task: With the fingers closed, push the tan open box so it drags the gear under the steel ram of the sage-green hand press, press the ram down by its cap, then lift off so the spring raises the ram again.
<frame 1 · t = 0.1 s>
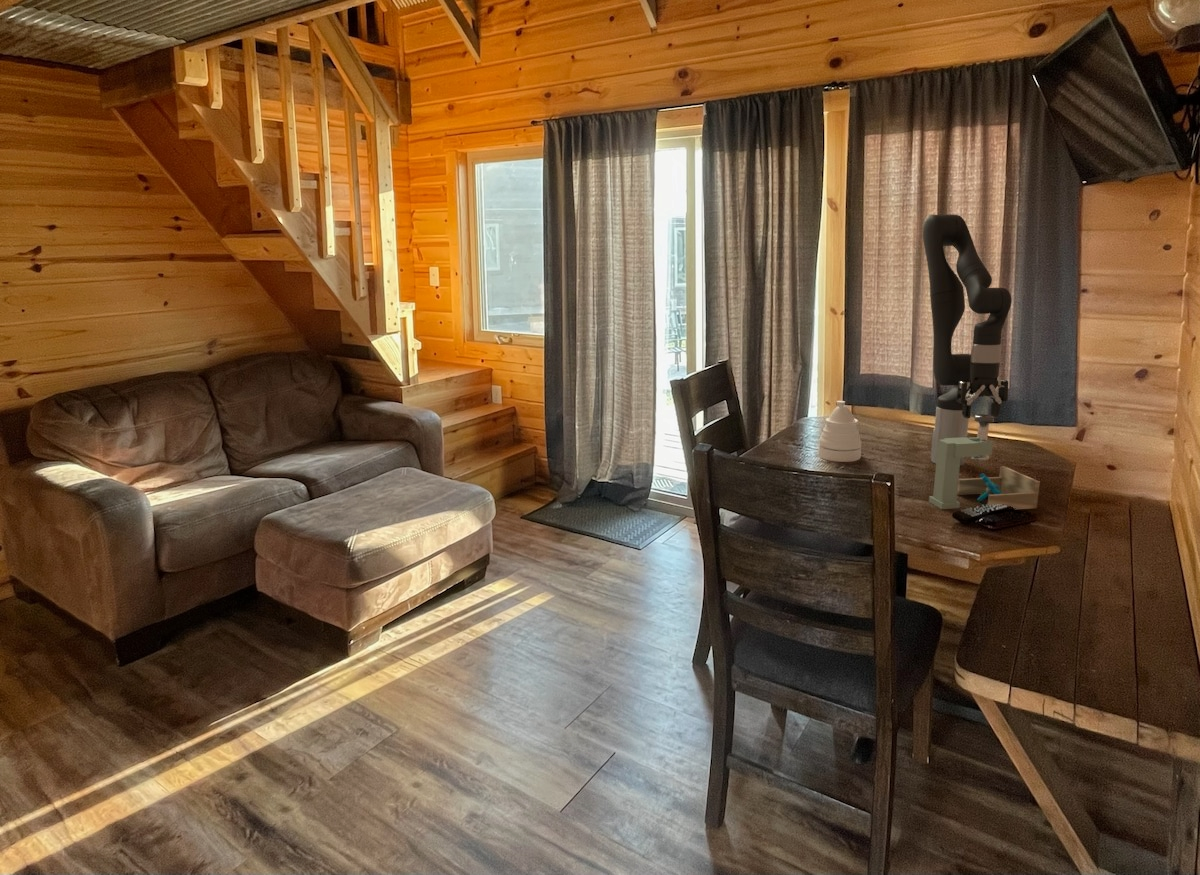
hand: (980, 417, 228), 17 cm above the table, tool pointing down, fingers open, 8 cm apart
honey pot: (839, 456, 254), on the table
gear: (992, 502, 209), on the table
ram: (982, 437, 204), point 18 cm above the table, slide at 0.1 cm
hand press: (975, 502, 208), on the table
tan open box: (996, 487, 208), point 4 cm above the table, slide at 0.0 cm
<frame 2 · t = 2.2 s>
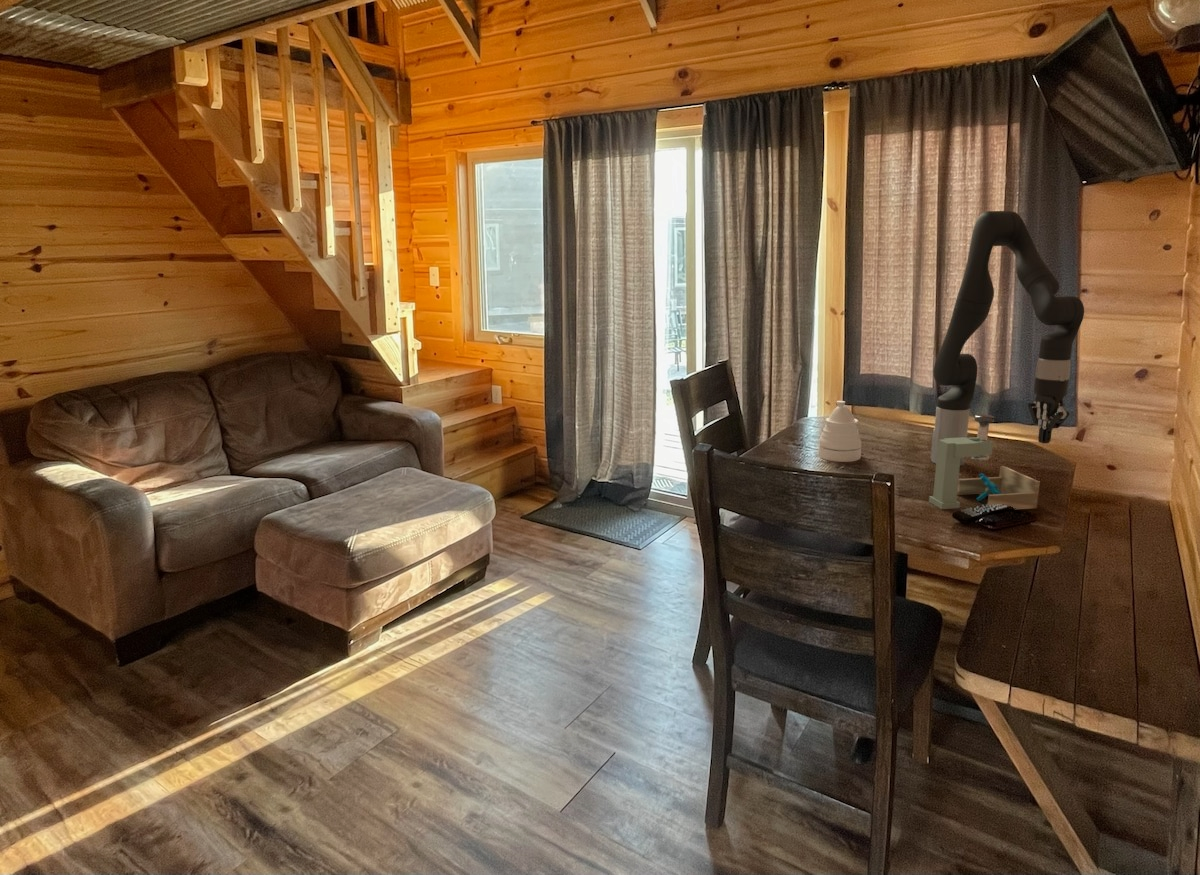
hand: (1044, 442, 207), 15 cm above the table, tool pointing down, fingers closed
nothing on the table moved.
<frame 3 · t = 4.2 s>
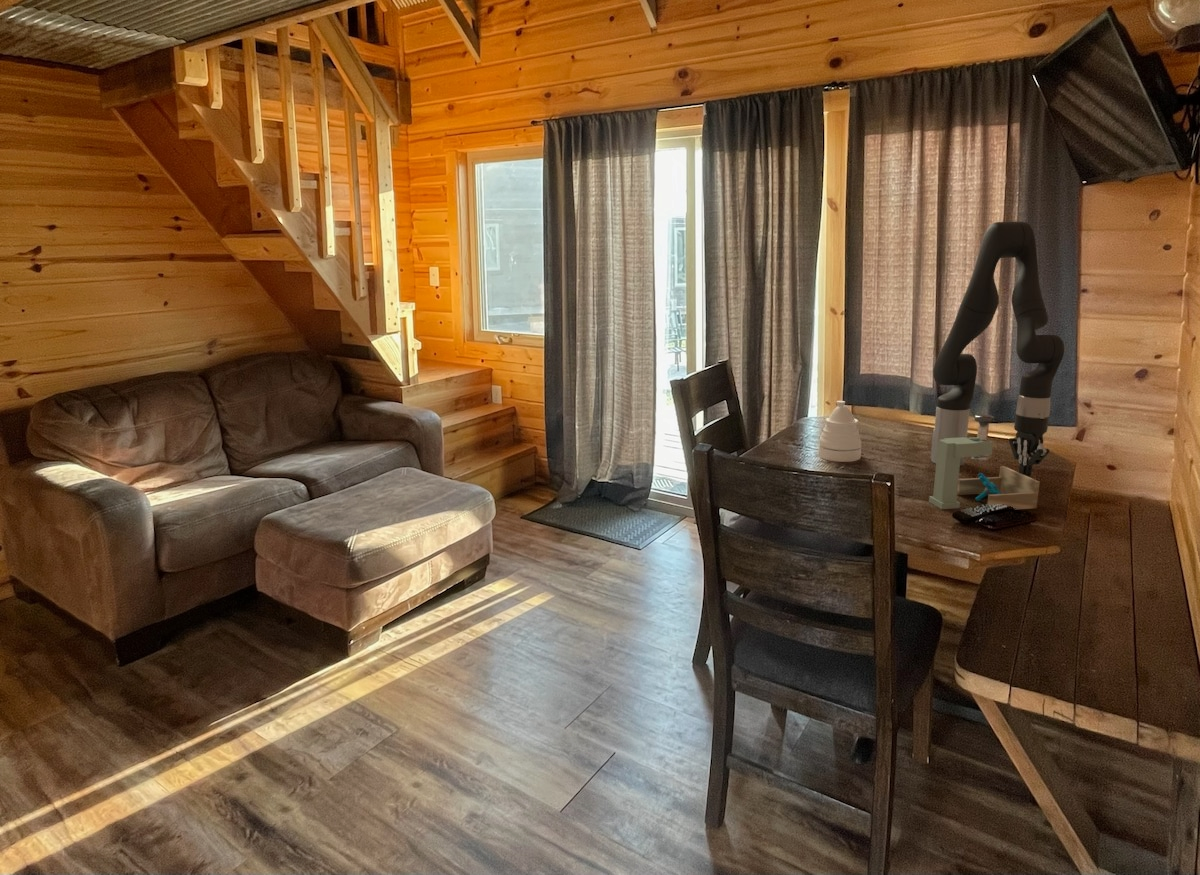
hand: (1024, 478, 209), 6 cm above the table, tool pointing down, fingers closed
tan open box: (996, 487, 208), point 4 cm above the table, slide at 0.1 cm, touching gripper
everything else where it was.
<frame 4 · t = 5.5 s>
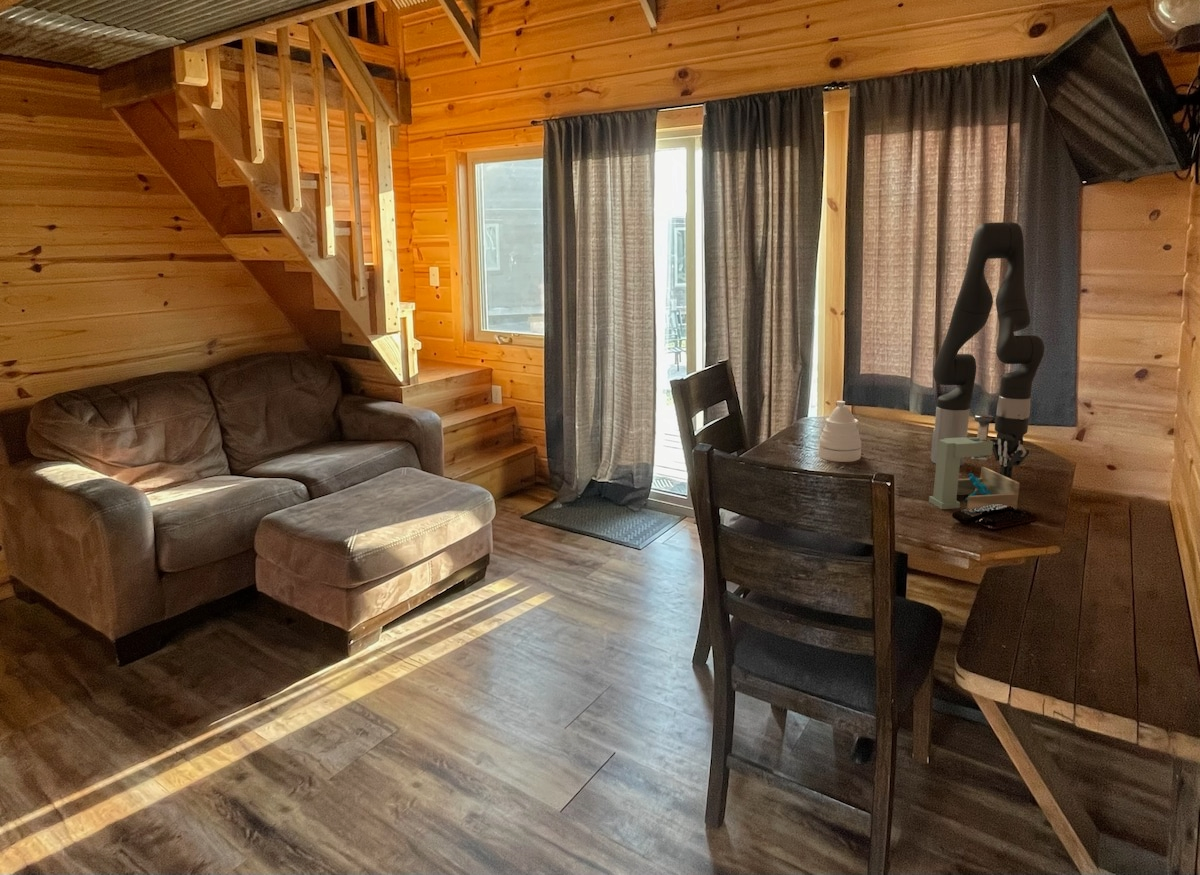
hand: (1005, 479, 208), 6 cm above the table, tool pointing down, fingers closed
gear: (980, 503, 209), on the table
tan open box: (977, 488, 208), point 4 cm above the table, slide at 5.5 cm, touching gripper
everything else where it was.
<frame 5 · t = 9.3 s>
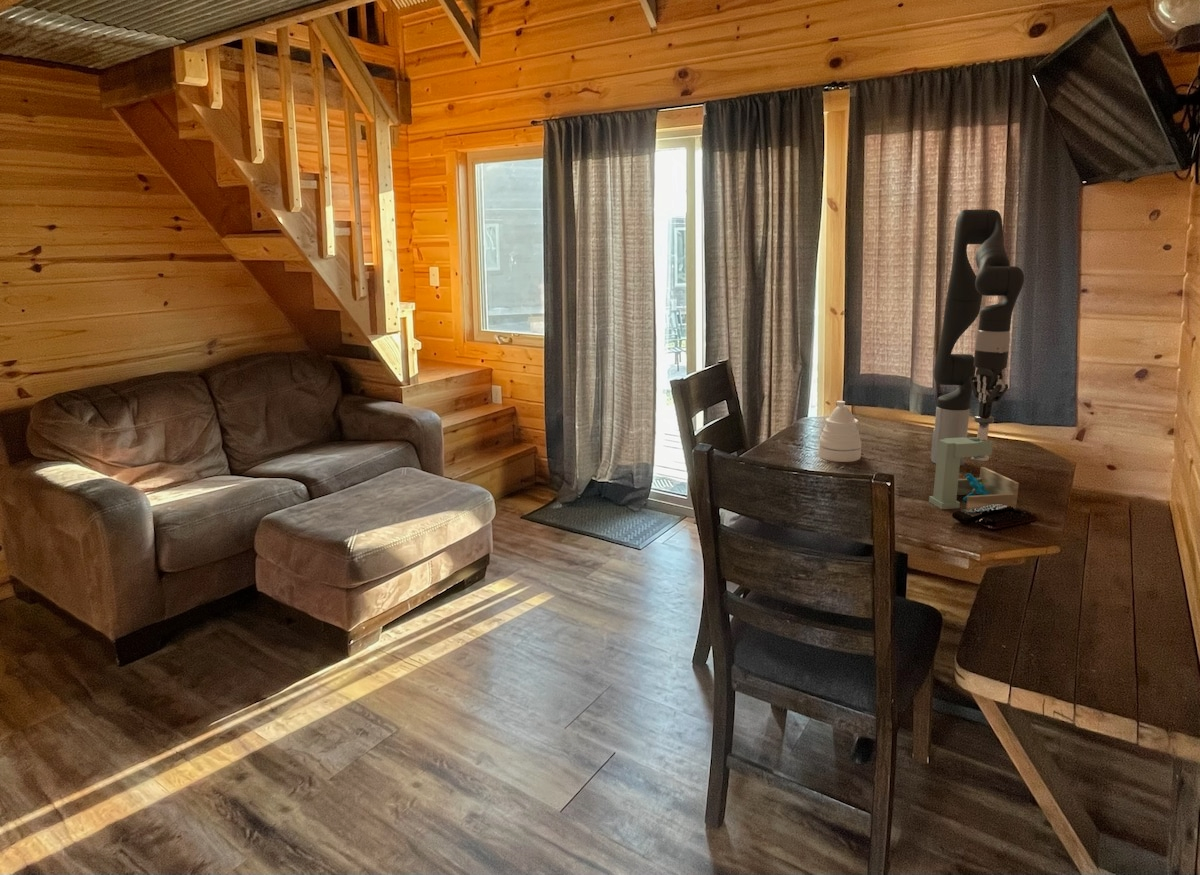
hand: (984, 416, 203), 23 cm above the table, tool pointing down, fingers closed
ram: (982, 438, 204), point 17 cm above the table, slide at 0.3 cm, touching gripper
tan open box: (976, 489, 208), point 4 cm above the table, slide at 5.8 cm
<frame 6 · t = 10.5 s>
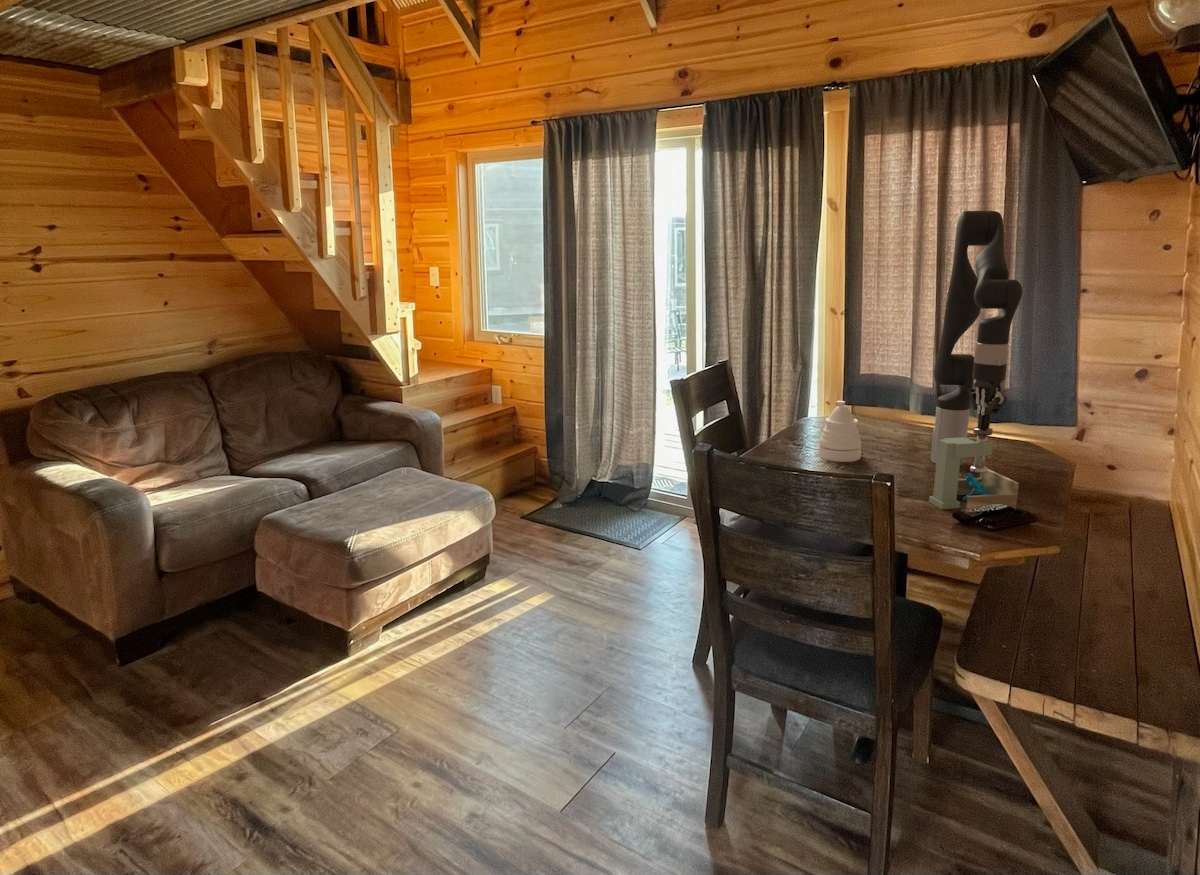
hand: (983, 428, 204), 20 cm above the table, tool pointing down, fingers closed
ram: (980, 450, 205), point 14 cm above the table, slide at 3.4 cm, touching gripper
everything else where it was.
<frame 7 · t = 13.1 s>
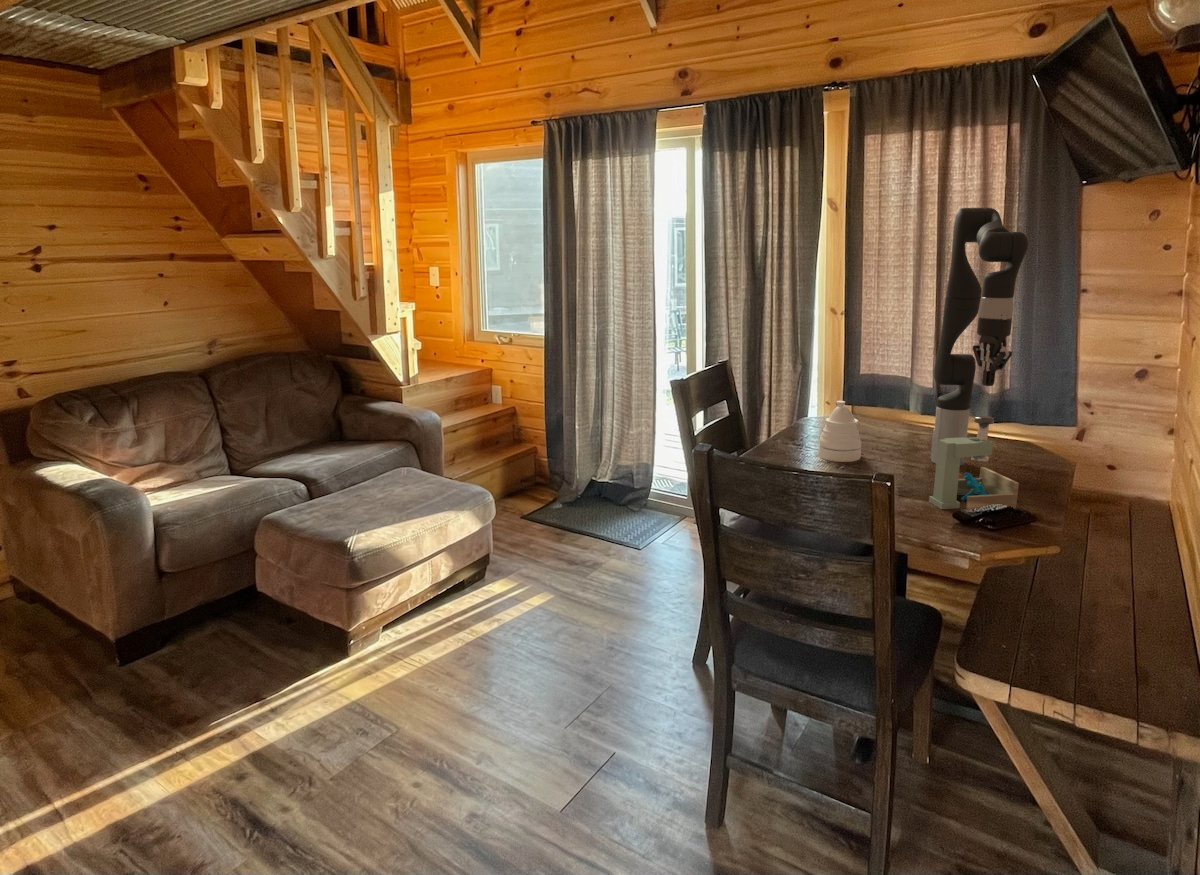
hand: (987, 385, 201), 31 cm above the table, tool pointing down, fingers closed
ram: (982, 439, 204), point 17 cm above the table, slide at 0.4 cm
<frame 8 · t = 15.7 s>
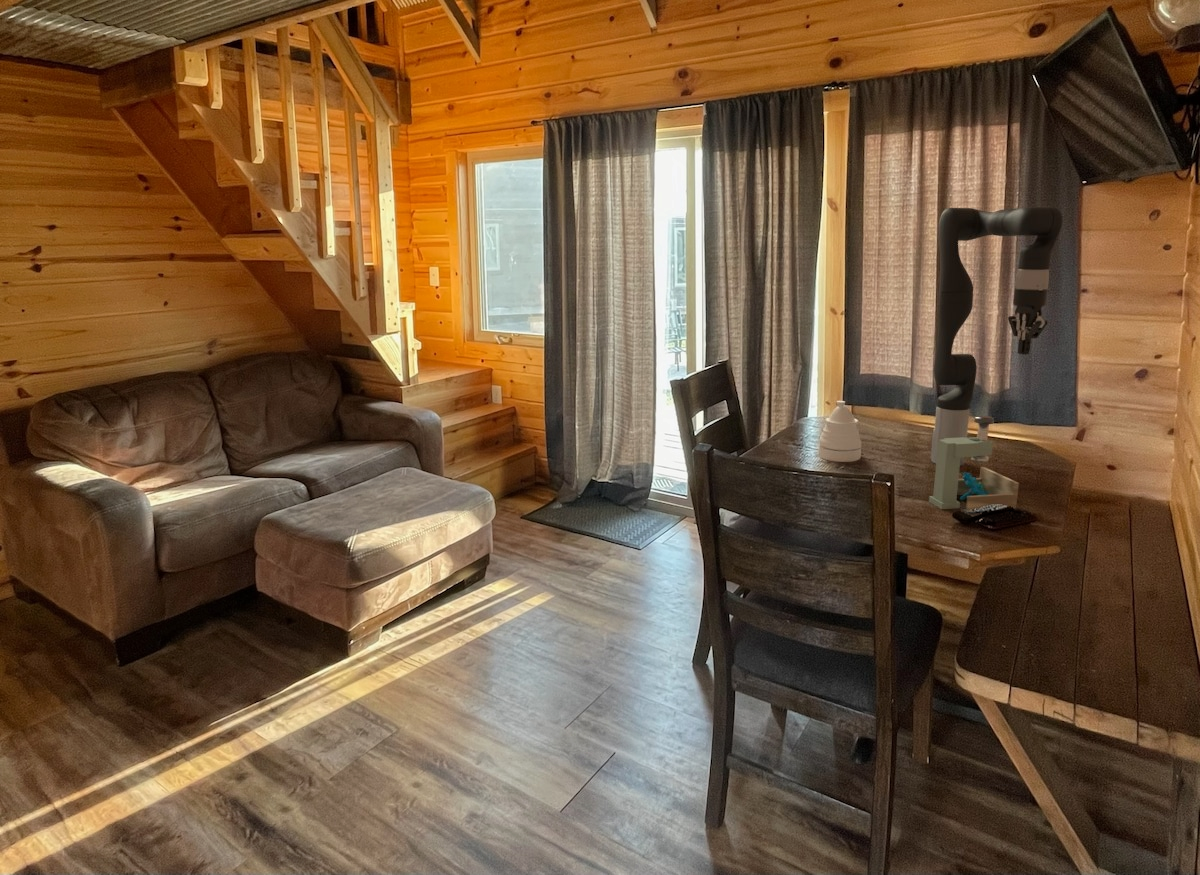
hand: (1023, 353, 211), 37 cm above the table, tool pointing down, fingers closed
at the end: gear 1.8 cm from the target spot, on the table; tan open box slide at 5.8 cm; ram slide at 0.4 cm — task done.
